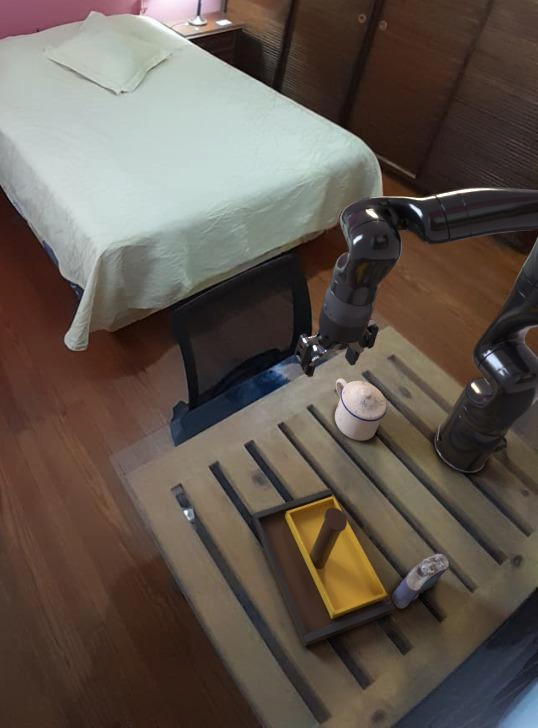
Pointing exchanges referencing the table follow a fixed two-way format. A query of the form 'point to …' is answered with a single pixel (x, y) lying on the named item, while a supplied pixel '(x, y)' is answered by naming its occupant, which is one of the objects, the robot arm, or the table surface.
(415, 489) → the table surface
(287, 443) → the table surface
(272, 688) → the table surface
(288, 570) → the track
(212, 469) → the table surface
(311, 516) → the tray
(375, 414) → the teacup with lid
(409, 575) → the flask
